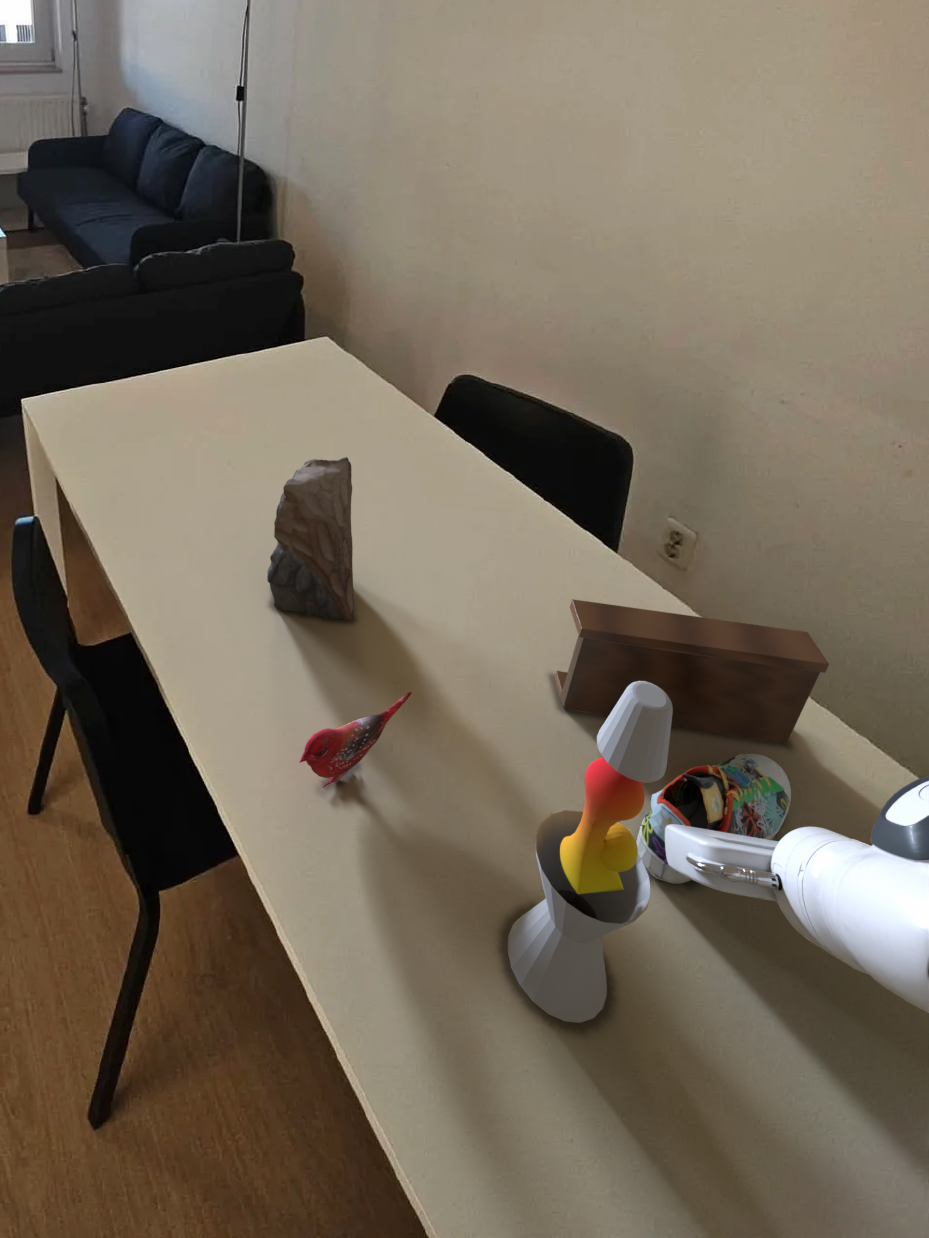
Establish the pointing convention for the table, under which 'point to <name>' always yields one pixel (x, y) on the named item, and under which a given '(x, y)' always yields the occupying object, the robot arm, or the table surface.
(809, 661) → the wooden wall shelf
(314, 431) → the table surface
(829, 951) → the robot arm
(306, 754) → the decorative bird figurine
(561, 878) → the lava lamp
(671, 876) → the sneaker
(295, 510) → the brown rock
